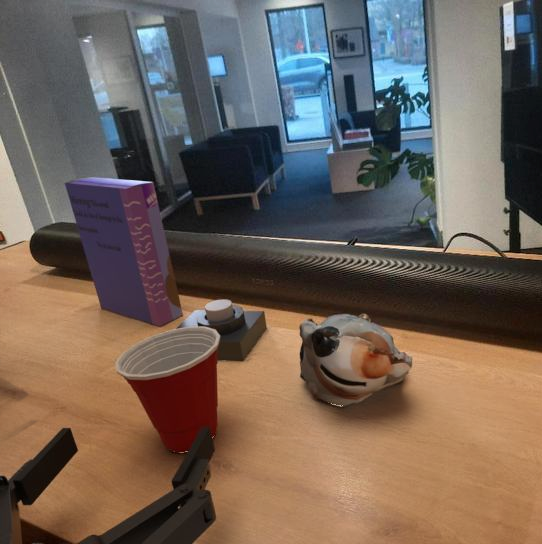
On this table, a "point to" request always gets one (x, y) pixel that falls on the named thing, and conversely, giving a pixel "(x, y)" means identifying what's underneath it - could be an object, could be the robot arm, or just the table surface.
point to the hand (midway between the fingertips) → (138, 438)
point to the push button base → (232, 331)
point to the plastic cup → (175, 382)
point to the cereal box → (126, 248)
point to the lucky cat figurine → (349, 358)
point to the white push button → (219, 310)
